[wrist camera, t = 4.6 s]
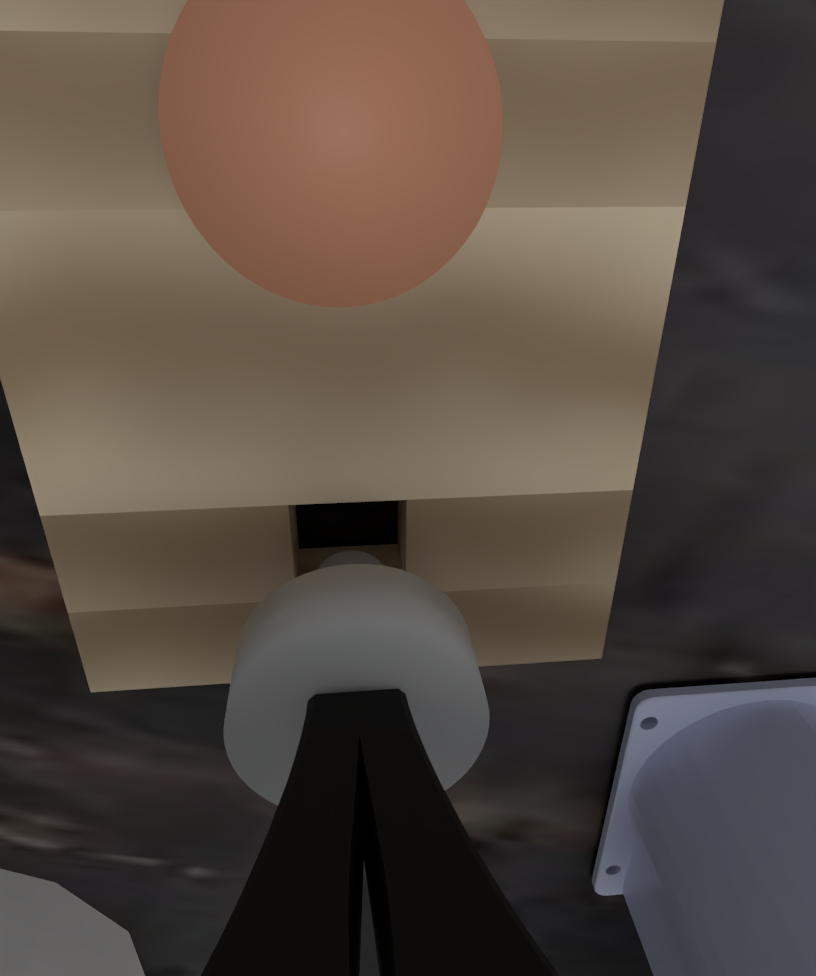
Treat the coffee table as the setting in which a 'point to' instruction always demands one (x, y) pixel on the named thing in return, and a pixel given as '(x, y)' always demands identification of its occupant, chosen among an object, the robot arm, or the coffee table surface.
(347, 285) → the rust plunger
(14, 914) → the container
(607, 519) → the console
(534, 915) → the coffee table surface
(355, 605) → the grey plunger
